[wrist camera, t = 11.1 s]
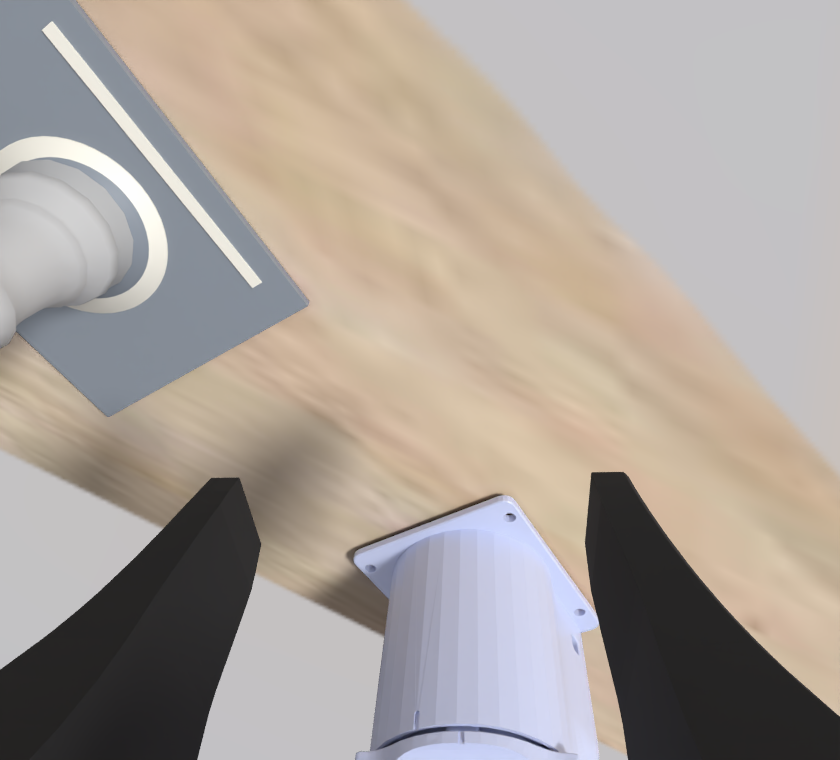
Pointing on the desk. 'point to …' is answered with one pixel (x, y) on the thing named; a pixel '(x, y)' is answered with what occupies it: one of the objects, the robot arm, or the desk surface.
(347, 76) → the desk surface
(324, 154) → the desk surface
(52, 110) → the grey base plate
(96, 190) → the rook chess piece
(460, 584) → the robot arm
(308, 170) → the desk surface
